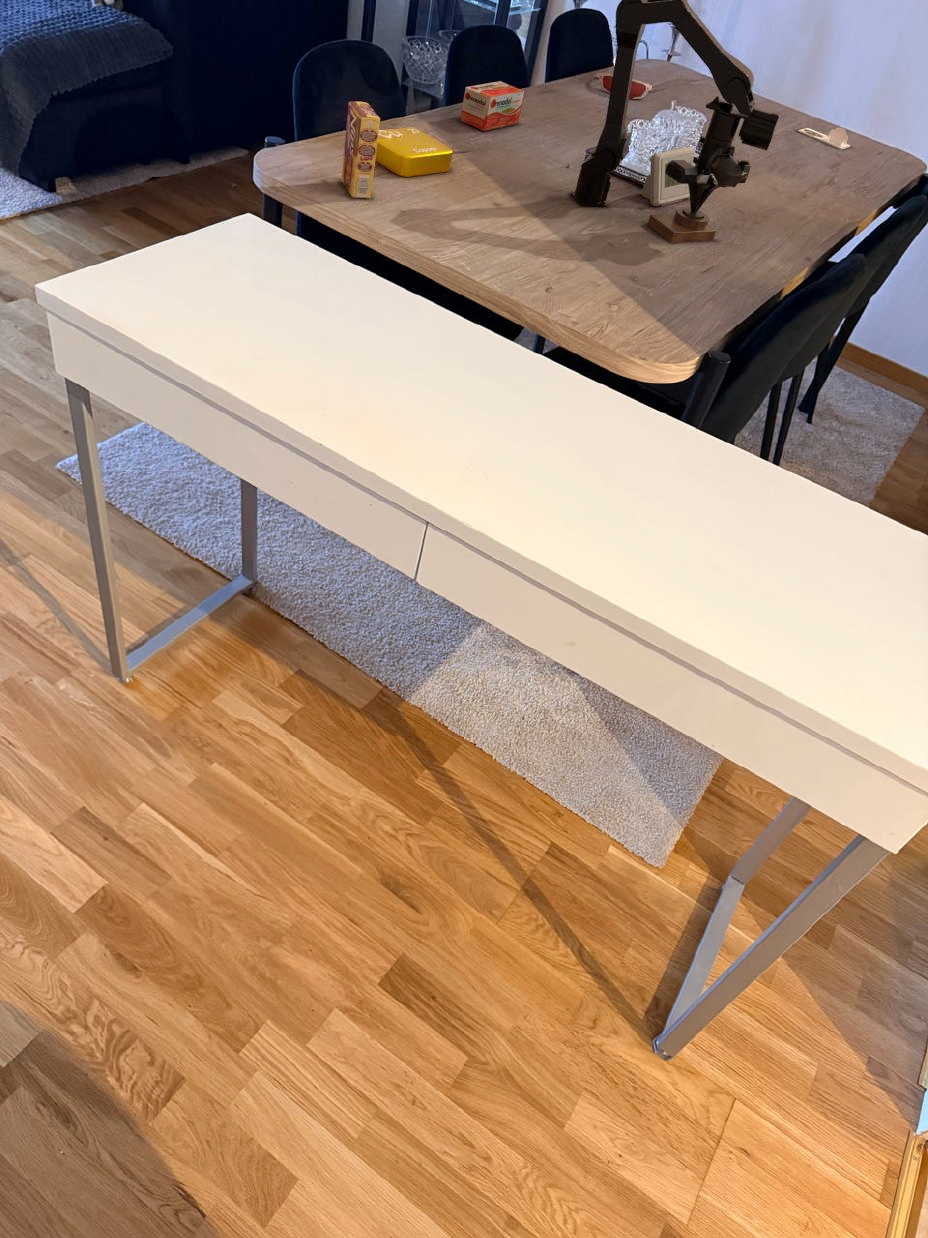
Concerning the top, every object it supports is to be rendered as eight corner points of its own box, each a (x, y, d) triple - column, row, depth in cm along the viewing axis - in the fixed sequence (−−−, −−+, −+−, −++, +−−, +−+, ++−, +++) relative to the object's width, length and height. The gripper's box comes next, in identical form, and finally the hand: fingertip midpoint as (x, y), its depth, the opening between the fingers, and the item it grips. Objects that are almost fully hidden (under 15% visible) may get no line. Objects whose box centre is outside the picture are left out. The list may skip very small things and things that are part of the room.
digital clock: (651, 208, 210) (667, 160, 203) (626, 192, 215) (640, 144, 208) (700, 204, 218) (717, 157, 211) (675, 189, 223) (690, 142, 216)
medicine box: (494, 113, 240) (500, 79, 234) (518, 124, 237) (525, 90, 232) (458, 121, 230) (464, 86, 225) (484, 132, 228) (490, 97, 222)
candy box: (372, 199, 186) (381, 118, 175) (352, 198, 184) (359, 116, 174) (360, 181, 191) (368, 101, 181) (340, 180, 190) (347, 99, 179)
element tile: (401, 178, 196) (404, 154, 193) (359, 151, 203) (361, 128, 200) (453, 171, 205) (457, 148, 201) (411, 146, 212) (414, 123, 208)
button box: (670, 242, 198) (677, 223, 195) (647, 224, 203) (652, 206, 200) (712, 240, 203) (719, 222, 200) (688, 222, 208) (694, 204, 205)
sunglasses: (593, 89, 272) (597, 70, 269) (593, 86, 286) (597, 67, 284) (649, 103, 272) (654, 84, 270) (647, 99, 286) (652, 81, 284)
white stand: (849, 146, 279) (856, 131, 276) (840, 149, 275) (847, 133, 272) (807, 129, 285) (813, 113, 282) (797, 131, 281) (803, 115, 278)
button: (688, 226, 200) (692, 216, 198) (677, 217, 202) (680, 207, 201) (704, 225, 202) (707, 216, 200) (692, 216, 204) (695, 207, 203)
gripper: (709, 151, 181) (682, 229, 192) (777, 151, 189) (748, 226, 200) (676, 129, 188) (652, 206, 198) (743, 131, 196) (716, 205, 207)
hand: (693, 211), depth 201 cm, fingers closed, pressing on button
